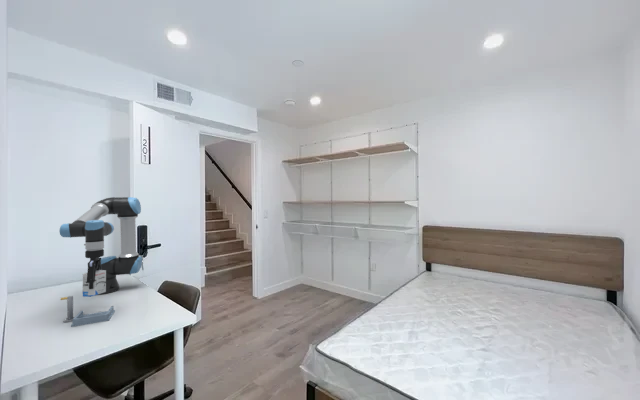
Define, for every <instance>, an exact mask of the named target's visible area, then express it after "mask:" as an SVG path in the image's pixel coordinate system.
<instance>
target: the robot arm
mask: <svg viewBox="0 0 640 400" xmlns="http://www.w3.org/2000/svg"><path fill="white" fill-rule="evenodd" d="M141 212H142V205H141V202H140V200H139V199H138V198H137V197H129V196H127V197H125V196H124V197H123V196H121V197H114V196H113V197H105V198H103V199H101V200H98V201H97V202H94V203H93V204H92V205H91V207H90V209H89V210H87V211H86V212H84V213H83V214H82V215H80V216H79V217H78V218H77V219H75V220H74V221H73V222H71V223H63V224H61V225H60V226H59V227H60V228H59V235H60V237H62V238H85V239H84V240H85V241H84V242H85V243H84V244H83V246H85V247H84V249H85V251H84V253H85V254H84V255H85V258H86V259H89V262H87V272H86V273H87V282H86V283H88V296H89V295H95V275H96V270H106V292H104V293H101V294H98V295H106V294H110V293H114V292H117V291H119V290H120V284H119V282H118V280H117V276H122V275H134V274H137V273H139V272H140V270H141V267H142V263H143V257H142V256H140V254H139V253H138V251H137V240H136V239H137V237H136V236H137V235H136V234H137V231H136V230H137V229H136V228H137V227H136V226H137V225H136V218H138V216H139V214H141ZM107 215H116V216H117V218H118V219H119V222H120V226H119V227H120V254H119V255H118V257H117V256H116V255H109V256H105V250H104V249H105V237H107V236H109V235H111V234H112V233H113V232H114V230H115V228H114V225H113V224H112V223H111V222H109V221H108V222H106V221H104V220H102V219H101V218H103V217H106V216H107ZM90 279H92V280H90ZM95 296H96V295H95Z"/></svg>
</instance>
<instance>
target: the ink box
mask: <svg viewBox="0 0 640 400" xmlns="http://www.w3.org/2000/svg"><path fill="white" fill-rule="evenodd" d="M90 280H92V279H90ZM86 282H87V272H84V273H82V297H87V298H88V297H94V296H97V295H98V294H99V295H102V294H101V293H104V292H106V270H96V275H95V295H89V296H88V283H86Z"/></svg>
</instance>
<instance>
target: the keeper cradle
mask: <svg viewBox="0 0 640 400" xmlns="http://www.w3.org/2000/svg"><path fill="white" fill-rule="evenodd" d="M64 300H67V301H66V303H67V305H66V308H67V310H66V318H65V319H64V321H63V323H62V324H64V323H65V324H66V323H72V324H70V327H72V328H74V327H79V326H85V325H90V324H91V325H92V324H96V323H102V322H108V321H110V320H111V319H112V317H113V315H114V313H115V312H116V310H115V309H114V307H115V306H113V305H112V306H110V308H109V309H108V310H107V311H106V310H105V311H99V312H92V313H86V314H84V310H80V311H79V312H78V313H77V314H76V315H75V316H74V295H68V296H65V297H60V301H64Z"/></svg>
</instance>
